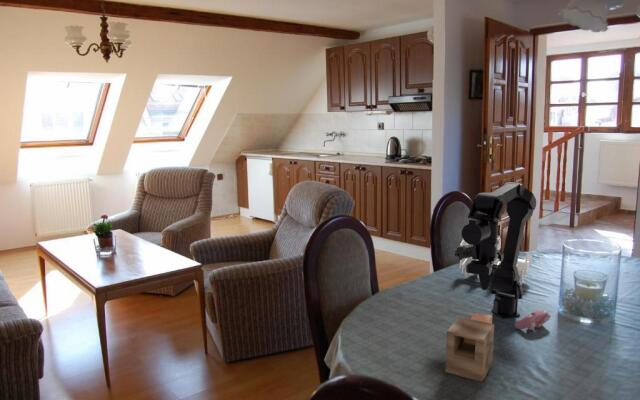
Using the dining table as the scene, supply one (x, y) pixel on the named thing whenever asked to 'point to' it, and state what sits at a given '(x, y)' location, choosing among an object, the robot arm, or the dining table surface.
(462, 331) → the sleeve block
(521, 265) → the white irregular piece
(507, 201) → the robot arm
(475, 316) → the peg
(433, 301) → the dining table surface
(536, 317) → the pink rounded piece
